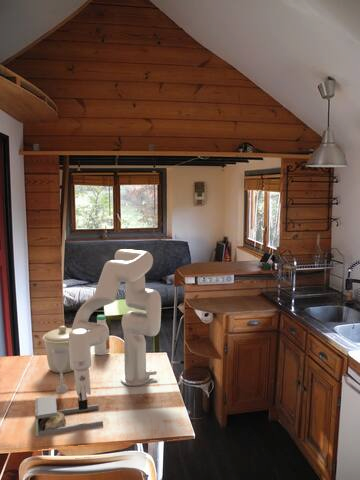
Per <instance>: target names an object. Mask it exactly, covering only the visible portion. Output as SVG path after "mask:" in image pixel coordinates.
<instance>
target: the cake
mask: <svg viewBox="0 0 360 480" xmlns="http://www.w3.org/2000/svg"><path fill="white" fill-rule="evenodd" d="M44 425H45V427H44V428H43V426H44ZM66 425H67V421H66V418H65V414H62V413H61V412H57V416H51V417H45V418H41V420H40V422H39V427H38V428H39V431H42V430H48V429H54V428H60V427H66Z"/></svg>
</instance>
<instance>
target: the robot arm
mask: <svg viewBox="0 0 360 480" xmlns="http://www.w3.org/2000/svg"><path fill="white" fill-rule="evenodd" d="M153 263H154V256H153V255H152V254H151V253H150V252H149V251H147V250H137V249H127V248H123V249H117V250H116V251H115V253H114V259H111V260H107V261H106V262H105V263H104V266H103V268H102V270H101V274H100V276H99V279H98V282H97V285H96V289H95V291H94V293H93V295H92V296H91V297H89V298H88V299H87V300H86V301H85V302H84V303H83V304H82V305H81V306H80V308H79V309H78V310H77V312H76V314H75V317H74V320H73V322H72V326H71V328H72V331H71V332H70V333H69V351H70V368H71V369H72V370H73V374H74V375H73V376H74V386H75V390H76V395H77V396H78V397H77V403H78V407H79V410H84V409H87V408H88V406H89V405H88V398H87V397H88V396H89V395H91V379H90V368H91V367H92V356H91V348H92V347H94V345H98V344H101V343H103V342H104V341H105V340H106V339H107V337H108V329H109V328H108V329H107V327H106V326H104V325H102V324H97V322H91V321H89V319H90V316H91V315H92V314H93V313H94V312H95V311H96V310H98V309H101V308H102V307H105V306H107V305H110V304H112V303H114V302H115V301H116V298H117V295H118V292H119V290H120V286H121V284H122V283H125V305H126V306H127V307H128V308H130V309H134V310H129V311H127V312H125V313H123V315H122V318H121V327H122V328H121V329H122V333H123V339H124V340H123V341H124V343H123V345H124V346H123V348H124V350H123V351H124V374H122V376H121V381H120V382H122V384H124V385H126V386H128V387H129V386H131V387H136V386H137V387H138V386H143V385H145V384H148V382H149V381H150V377H151V376H154V375H157V373H158V372H157V370H156V369H155V370H153V368H149V369H148V368H147V349H146V348H147V342H146V339H145V338H146V337H145V336H148V337H155V336H157V335H158V334H159V332H160V329H161V321H162V318H161V317H162V298H161V294H160V293H159V291H158V290H156V289H152V288H146V276H145V275H146V274H147V273H148V272H149V271H150V270H151V268H152V267H153ZM137 310H139V311H137ZM142 311H145V312H142ZM78 407H77V408H78Z"/></svg>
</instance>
